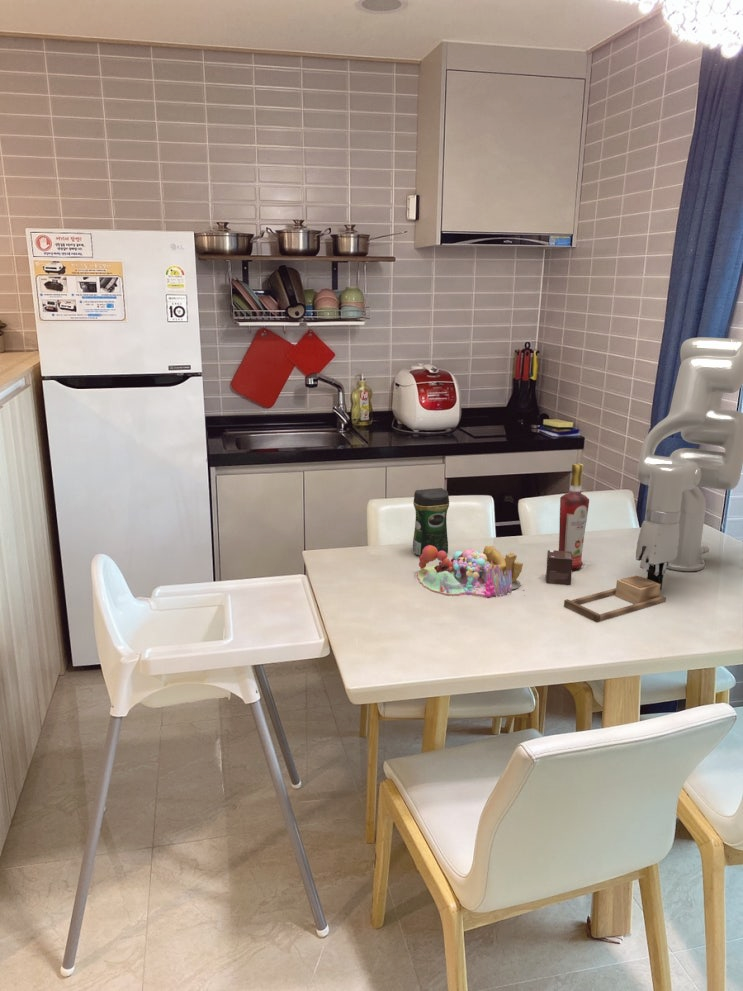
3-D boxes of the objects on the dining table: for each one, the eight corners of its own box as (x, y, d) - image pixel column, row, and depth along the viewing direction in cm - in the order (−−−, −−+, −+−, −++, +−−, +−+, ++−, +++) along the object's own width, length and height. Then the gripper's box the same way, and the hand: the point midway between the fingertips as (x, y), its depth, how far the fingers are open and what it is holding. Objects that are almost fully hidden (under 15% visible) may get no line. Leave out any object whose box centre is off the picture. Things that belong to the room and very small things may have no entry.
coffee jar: (439, 547, 218) (442, 484, 213) (451, 556, 211) (454, 491, 206) (408, 551, 215) (409, 486, 210) (419, 560, 208) (421, 494, 203)
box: (570, 587, 190) (573, 559, 188) (545, 585, 192) (548, 557, 190) (569, 578, 196) (571, 551, 194) (545, 576, 197) (547, 549, 195)
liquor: (573, 561, 208) (581, 460, 201) (588, 570, 202) (598, 466, 194) (549, 563, 206) (557, 462, 199) (564, 573, 199) (573, 468, 192)
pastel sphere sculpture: (483, 560, 209) (485, 528, 207) (538, 590, 189) (540, 555, 186) (403, 574, 198) (404, 540, 196) (452, 607, 178) (453, 570, 176)
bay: (631, 589, 189) (632, 581, 189) (665, 603, 181) (666, 595, 180) (563, 608, 178) (564, 600, 177) (596, 623, 169) (597, 615, 169)
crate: (635, 590, 188) (636, 574, 187) (658, 599, 182) (660, 583, 181) (615, 595, 184) (616, 579, 183) (638, 605, 178) (640, 589, 177)
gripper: (669, 508, 188) (661, 578, 192) (628, 516, 180) (620, 589, 185) (696, 515, 182) (686, 588, 186) (654, 524, 174) (645, 599, 179)
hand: (653, 588), depth 185 cm, fingers closed
